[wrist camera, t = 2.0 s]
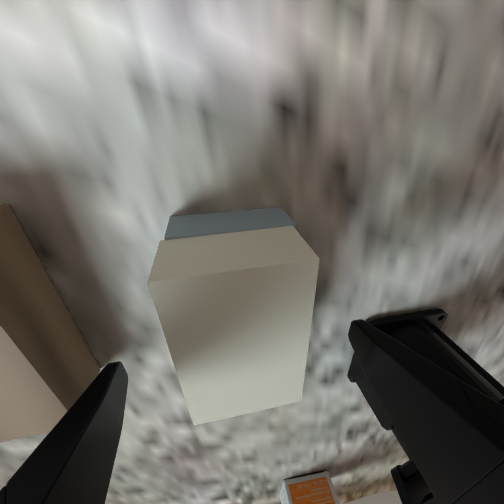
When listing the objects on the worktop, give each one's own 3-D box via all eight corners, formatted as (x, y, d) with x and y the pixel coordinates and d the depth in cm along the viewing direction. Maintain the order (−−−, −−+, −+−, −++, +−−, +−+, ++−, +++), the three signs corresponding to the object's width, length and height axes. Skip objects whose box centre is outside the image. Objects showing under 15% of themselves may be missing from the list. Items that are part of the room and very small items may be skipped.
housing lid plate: (292, 225, 9) (319, 258, 7) (284, 355, 13) (301, 401, 11) (160, 240, 9) (147, 282, 7) (194, 373, 13) (193, 425, 11)
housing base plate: (278, 203, 12) (296, 224, 9) (273, 322, 16) (285, 355, 13) (170, 212, 11) (164, 238, 9) (195, 335, 15) (195, 372, 13)
